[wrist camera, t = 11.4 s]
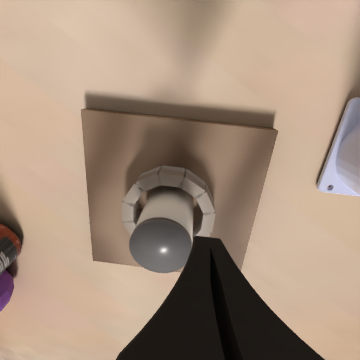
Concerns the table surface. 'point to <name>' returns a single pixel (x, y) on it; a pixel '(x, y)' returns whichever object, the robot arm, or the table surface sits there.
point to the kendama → (5, 288)
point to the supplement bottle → (8, 247)
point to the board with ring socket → (172, 176)
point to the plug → (164, 231)
